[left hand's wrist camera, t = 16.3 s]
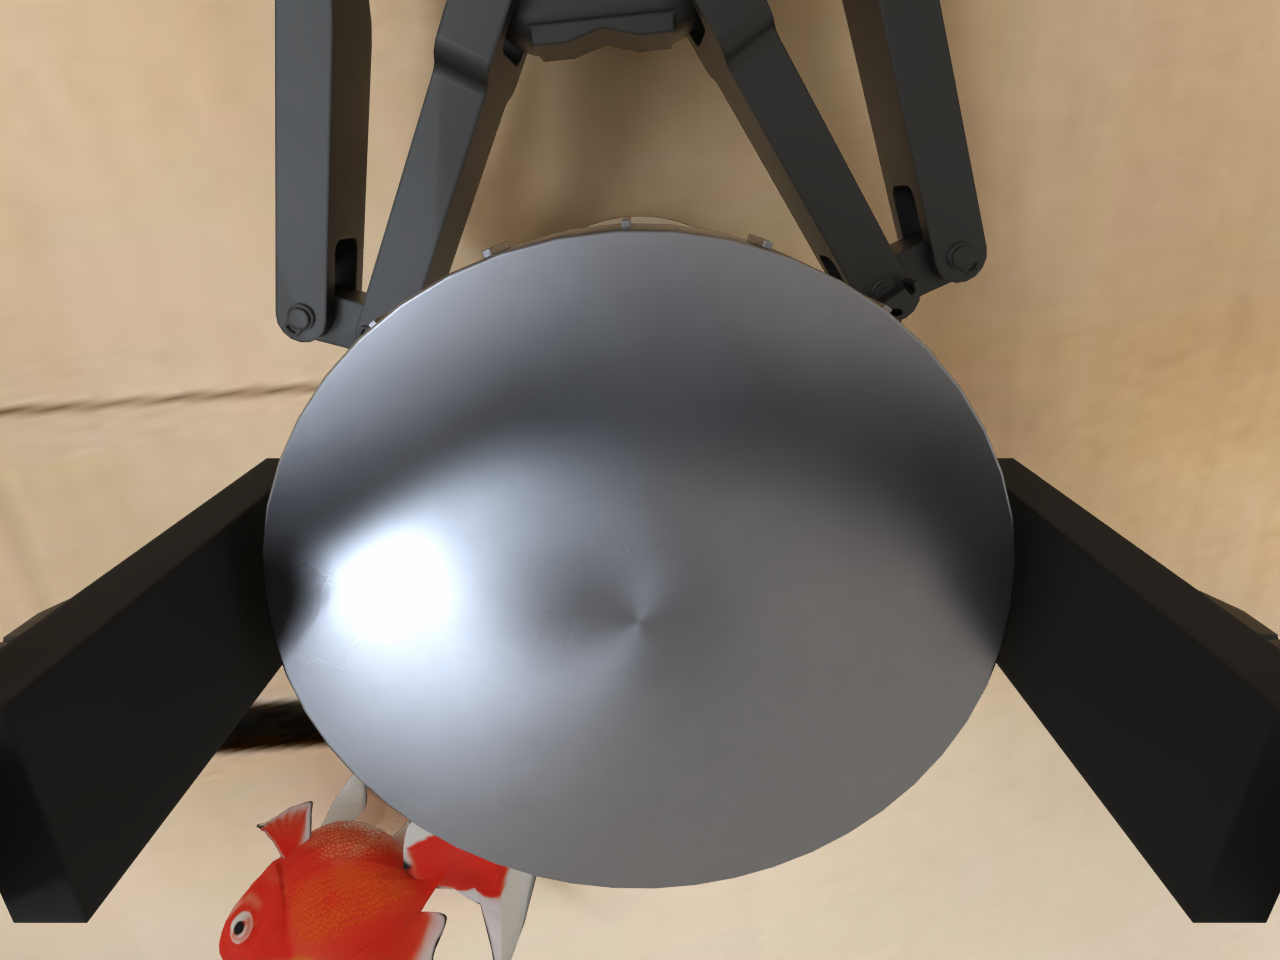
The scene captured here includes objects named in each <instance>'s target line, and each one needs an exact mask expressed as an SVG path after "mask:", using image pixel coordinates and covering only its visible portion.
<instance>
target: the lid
mask: <svg viewBox="0 0 1280 960" xmlns="http://www.w3.org/2000/svg"><path fill="white" fill-rule="evenodd" d="M772 244H773V243H772V242H770V241H767V240H765V239H762V238H760V237H757V236H754V235H751V234H749V236H748V239H747V240H744V239H741V238H738V237H734V236H731V235H728V234H724V233H721V232H718V231H711V230H705V229H699V228H692V227H686V226H680V225H673V224H645V223H632V217H624V218H623V220H622V223H617V224H609V225H601V226H592V227H584V228H576V229H570V230H566V231H562V232H559V233H555V234H551V235H547V236H544V237H540V238H536V239H532V240H529V241H525V242H522V243H520V244H518V245H515V246H513V247H511V248H510V245H509V242H508V241H507V242H504V243H502V244H499V245H496V246H494V247H491V248H488V249H486V250H484V251H482V254H483V256H484V258H485V259H482V260H480V261H478V262H475V263H473V264H471V265H468V266H466V267H464V268H461V269H459V270H457V271H455V272H452V273H450V274H448V275H446V276H444V277H443V278H441V279H439V280H438V281H436V282H435V283H433V284H431V285H430V286H428V287H426V288H425V289H423V290H421V291H420V292H418V293H416V294H415V295H413V296H412V297H410V298H408V299H407V300H405V301H403V302H402V303H400V304H399V305H398V306H397V307H395V308H394V309H393V310H392V311H391V312H389V313H387V314H385V315H383V316H381V317H379V318H377V319H375V320H373V321H372V322H371V323H370V324H369V327H370V329H369V330H368V331H366V332H365V333H364V334H363V335H362V336H360V337H359V338H358V340H357V341H356V342H355V343H354V344H353V345H352V346H351V347H350V349H349V350H348V351H347V352H346V353H345V354H344V355H343V356H342V358H341V359H340V360H339V361H338V362H337V363H336V364H335V365H334V367H333V368H332V369H331V370H330V371H329V372H328V373H327V374H326V376H325V377H324V378H323V380H322V382H321V383H320V385H319V386H318V388H317V389H316V391H315V392H314V394H313V395H312V397H311V399H310V400H309V402H308V403H307V405H306V406H305V408H304V409H303V411H302V413H301V414H300V416H299V417H298V419H297V421H296V424H295V426H294V428H293V431H292V433H291V435H290V437H289V440H288V442H287V444H286V446H285V449H284V451H283V453H282V455H281V458H280V460H279V463H278V466H277V470H276V474H275V478H274V481H273V485H272V489H271V493H270V496H269V500H268V504H267V510H266V520H265V530H264V539H263V549H262V558H263V578H264V596H265V601H266V606H267V611H268V616H269V621H270V626H271V631H272V636H273V639H274V642H275V645H276V647H277V650H278V653H279V656H280V659H281V662H282V664H283V667H284V670H285V673H286V676H287V678H288V680H289V682H290V684H291V686H292V687H293V689H294V691H295V693H296V695H297V697H298V699H299V701H300V703H301V705H302V707H303V709H304V711H305V713H306V714H307V716H308V717H309V718H310V720H311V721H312V723H313V724H314V726H315V727H316V729H317V730H318V731H319V733H320V734H321V736H322V737H323V739H324V740H325V741H326V743H327V744H328V746H329V747H330V748H331V749H332V750H333V752H334V753H335V754H336V755H337V756H338V757H339V758H340V759H341V760H342V762H343V763H344V764H345V765H346V766H347V767H348V768H349V769H350V771H351V772H352V773H353V774H354V775H355V776H356V777H357V778H358V779H359V780H360V781H361V782H362V783H364V784H365V785H366V786H367V787H368V788H369V789H370V790H372V791H373V792H374V793H375V794H376V795H377V796H378V797H380V798H381V799H382V800H383V801H384V802H385V803H386V804H388V805H389V806H390V807H392V808H393V809H395V810H396V811H398V812H399V813H400V814H402V815H403V816H405V817H406V818H408V819H409V820H410V821H412V822H413V823H415V824H416V825H418V826H419V827H420V828H422V829H424V830H426V831H428V832H429V833H431V834H433V835H435V836H437V837H439V838H440V839H442V840H444V841H446V842H448V843H449V844H451V845H453V846H455V847H457V848H459V849H462V850H464V851H466V852H469V853H471V854H473V855H476V856H478V857H481V858H483V859H485V860H488V861H490V862H492V863H495V864H498V865H501V866H505V867H508V868H511V869H514V870H518V871H521V872H524V873H527V874H531V875H534V876H539V877H544V878H549V879H554V880H559V881H563V882H568V883H573V884H583V885H592V886H601V887H611V888H664V887H676V886H688V885H697V884H703V883H708V882H714V881H720V880H725V879H731V878H736V877H739V876H743V875H746V874H750V873H754V872H757V871H761V870H764V869H768V868H771V867H775V866H777V865H780V864H782V863H785V862H787V861H790V860H792V859H795V858H798V857H800V856H803V855H805V854H808V853H810V852H813V851H815V850H817V849H819V848H820V847H822V846H824V845H826V844H828V843H830V842H832V841H834V840H836V839H838V838H840V837H842V836H844V835H846V834H848V833H849V832H851V831H852V830H854V829H855V828H857V827H858V826H860V825H861V824H863V823H864V822H866V821H868V820H869V819H871V818H872V817H874V816H875V815H877V814H878V813H880V812H881V811H883V810H884V809H885V808H886V807H887V806H889V805H890V804H891V803H892V802H893V801H895V800H896V799H897V798H898V797H900V796H901V795H902V794H903V793H904V792H906V791H907V790H908V789H909V788H910V787H912V786H913V785H914V784H915V783H916V782H917V781H918V780H919V779H920V778H921V777H922V776H923V774H924V773H925V772H926V771H927V770H928V769H929V768H930V767H931V766H932V765H933V764H934V763H935V762H936V761H937V760H938V759H939V758H940V757H941V756H942V754H943V753H944V752H945V750H946V749H947V748H948V746H949V745H950V744H951V742H952V741H953V740H954V738H955V737H956V736H957V734H958V733H959V732H960V730H961V729H962V727H963V726H964V725H965V723H966V722H967V720H968V719H969V717H970V715H971V713H972V711H973V710H974V708H975V706H976V704H977V703H978V701H979V699H980V697H981V695H982V694H983V692H984V690H985V688H986V686H987V684H988V682H989V679H990V677H991V674H992V671H993V669H994V666H995V664H996V661H997V659H998V656H999V654H1000V651H1001V649H1002V646H1003V641H1004V637H1005V633H1006V629H1007V624H1008V620H1009V616H1010V612H1011V607H1012V599H1013V587H1014V576H1015V564H1016V560H1015V546H1014V531H1013V517H1012V512H1011V508H1010V504H1009V499H1008V495H1007V490H1006V486H1005V482H1004V477H1003V473H1002V470H1001V468H1000V465H999V463H998V460H997V457H996V455H995V452H994V450H993V447H992V445H991V442H990V440H989V437H988V435H987V432H986V430H985V428H984V426H983V424H982V423H981V421H980V419H979V418H978V416H977V414H976V413H975V411H974V409H973V407H972V406H971V404H970V402H969V401H968V399H967V397H966V396H965V394H964V392H963V391H962V389H961V387H960V386H959V384H958V383H957V382H956V381H955V380H954V378H953V377H952V376H951V375H950V374H949V372H948V371H947V370H946V369H945V368H944V366H943V365H942V364H941V363H940V361H939V360H938V359H937V358H936V357H935V355H934V354H933V353H932V352H931V351H930V349H929V348H928V347H927V346H926V345H925V344H924V343H923V342H922V341H920V340H919V339H918V338H917V337H916V336H915V335H914V334H913V333H911V332H910V331H909V330H908V329H907V328H906V327H905V326H904V325H903V324H901V323H900V322H899V321H898V320H897V319H896V318H895V317H894V316H892V315H891V314H890V312H891V311H892V309H891V308H890V307H888V306H887V305H885V304H883V303H881V302H879V301H877V300H875V299H872V298H870V297H868V296H866V295H864V294H861V293H859V292H858V291H856V290H855V289H853V288H852V287H850V286H849V285H847V284H846V283H844V282H843V281H841V280H839V279H837V278H834V277H832V276H830V275H828V274H826V273H824V272H822V271H819V270H817V269H815V268H813V267H811V266H809V265H807V264H804V263H802V262H800V261H798V260H796V259H794V258H792V257H789V256H787V255H785V254H783V253H780V252H778V251H776V250H773V249H771V247H772Z"/></svg>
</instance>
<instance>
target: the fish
mask: <svg viewBox="0 0 1280 960" xmlns="http://www.w3.org/2000/svg"><path fill="white" fill-rule="evenodd" d="M366 804H367V788H366V785H365V784H364V783H362V782H361V781H360V780H359V779H358V778H357V777H356V776H355V775H354V774H353V775H352V776H351V777H350V779H349V780H348V781H347V783H346V785H345V786H344V788H343V789H342V790H341V792H340V793H339V794H338V796H337V797H336V799H335V800H334V802H333V803H332V805H331V807H330V809H329V811H328V814H327V816H326V818H325V820H324V822H323V824H322V825H321V827H319V828H317V829H315V830H314V831H312V832H311V823H312V817H311V814H312V806H313V802H312V801H309V802H305V803H302V804H299V805H297V806H294V807H291V808H288V809H287V810H285V811H284V812H282V813H281V814H279V815H278V816H276V817H275V818H273V819H271V820H269V821H268V822H266V823H262V824H258V825H257V827H258V828H260V829H261V830H262V831H265V833H266V834H267V836H268V837H269V838H270V839H271V840H272V841H273V842H274V844H275V846H276V848H277V849H278V851H279V853H280V855H281V857H280V858H279V859H277V860H275V861H273V862H272V863H271V864H270V865H269V866H268V867H267V869H266V870H265V871H264V872H263V873H262V875H261V876H260V877H259V878H258V879H257V880H256V881H255V882H254V883H253V884H252V885H251V886H250V888H249V889H248V890H247V892H246V893H245V894H244V895H243V896H242V898H241V899H240V900H239V901H238V902H237V904H236V905H235V906H234V907H233V909H232V911H231V913H230V915H229V917H228V918H227V920H226V922H225V925H224V928H223V930H222V934H221V938H220V943H219V951H220V955H221V957H222V959H223V960H433V956H434V952H435V949H436V946H437V944H438V942H439V940H440V937H441V935H442V933H443V930H444V927H445V924H446V920H447V916H446V915H444V914H442V913H438V912H421V911H422V909H423V907H424V906H425V904H426V902H427V901H428V899H429V898H430V896H431V895H432V893H433V892H434V890H435V888H442V889H455V890H457V891H458V892H460V893H461V894H462V895H464V896H465V897H467V898H469V899H471V900H473V901H474V902H476V903H478V904H480V905H481V909H482V913H483V917H484V921H485V925H486V929H487V933H488V937H489V941H490V945H491V949H492V955H493V960H511V958H512V956H513V953H514V950H515V947H516V945H517V942H518V939H519V936H520V934H521V931H522V928H523V926H524V923H525V919H526V915H527V911H528V907H529V903H530V899H531V895H532V891H533V887H534V884H535V880H536V876H534V875H531V874H527V873H524V872H521V871H518V870H514V869H511V868H508V867H505V866H501V865H498V864H495V863H492V862H490V861H488V860H485V859H483V858H481V857H478V856H476V855H473V854H471V853H469V852H466V851H464V850H462V849H459V848H457V847H455V846H453V845H451V844H449V843H448V842H446V841H444V840H442V839H440V838H439V837H437V836H435V835H433V834H431V833H429V832H428V831H426V830H424V829H422V828H420V827H419V826H418V825H416V824H415V823H413V822H412V821H410V820H409V819H408V821H407V822H406V824H405V825H404V826H403V827H402V828H401V829H400V830H399V831H398V832H397V833H396V834H395V835H393V836H392V837H391V836H390V835H389V834H388V833H386V832H385V831H383V830H382V829H380V828H378V827H375V826H373V825H370V824H366V823H361V822H356V821H354V820H355V819H356V818H357V817H358V816H359V815H360V814H361V813H362V812H363V810H364V809H365V807H366Z"/></svg>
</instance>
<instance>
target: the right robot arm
mask: <svg viewBox="0 0 1280 960" xmlns="http://www.w3.org/2000/svg"><path fill="white" fill-rule="evenodd" d="M842 1H843V6H844V10H845V14H846V18H847V23H848V27H849V31H850V36H851V40H852V44H853V48H854V53H855V57H856V61H857V66H858V70H859V74H860V79H861V83H862V87H863V91H864V96H865V100H866V104H867V109H868V113H869V117H870V122H871V126H872V130H873V134H874V139H875V143H876V147H877V152H878V156H879V160H880V165H881V169H882V173H883V177H884V182H885V186H886V190H887V195H888V199H889V203H890V207H891V212H892V216H893V220H894V225H895V229H896V233H897V238H898V241H897V242H895V243H892V244H890V245H889V243H888V241H887V239H886V238H885V236H884V234H883V232H882V230H881V228H880V226H879V224H878V222H877V221H876V219H875V217H874V215H873V213H872V211H871V209H870V207H869V205H868V204H867V202H866V200H865V198H864V196H863V194H862V192H861V190H860V189H859V187H858V185H857V183H856V181H855V179H854V177H853V175H852V173H851V172H850V170H849V168H848V166H847V164H846V162H845V160H844V158H843V156H842V155H841V153H840V151H839V149H838V147H837V145H836V143H835V141H834V139H833V138H832V136H831V134H830V132H829V130H828V128H827V126H826V124H825V123H824V121H823V119H822V117H821V115H820V113H819V111H818V109H817V107H816V106H815V104H814V102H813V100H812V98H811V96H810V94H809V92H808V90H807V89H806V87H805V85H804V83H803V81H802V79H801V77H800V75H799V74H798V72H797V70H796V68H795V66H794V64H793V62H792V60H791V58H790V57H789V55H788V53H787V51H786V49H785V47H784V45H783V43H782V41H781V40H780V38H779V36H778V33H777V31H776V28H775V24H774V19H773V15H772V12H771V9H770V7H769V5H768V2H767V0H447V1H446V5H445V8H444V12H443V15H442V18H441V22H440V25H439V28H438V32H437V36H436V40H435V46H434V69H433V73H432V77H431V80H430V83H429V87H428V90H427V93H426V97H425V100H424V103H423V107H422V110H421V113H420V117H419V120H418V123H417V127H416V130H415V133H414V137H413V140H412V143H411V147H410V150H409V153H408V157H407V160H406V163H405V167H404V170H403V173H402V177H401V180H400V183H399V187H398V190H397V193H396V197H395V200H394V203H393V207H392V210H391V213H390V217H389V220H388V223H387V227H386V230H385V233H384V237H383V240H382V243H381V247H380V250H379V253H378V256H377V260H376V263H375V266H374V270H373V273H372V276H371V280H370V283H369V286H368V290H367V293H366V292H363V291H362V273H363V248H364V223H365V198H366V173H367V149H368V124H369V99H370V74H371V49H372V30H371V15H370V6H369V0H275V196H276V317H277V322H278V324H279V326H280V328H281V329H282V331H283V332H284V333H285V334H286V335H287V336H289V337H290V338H291V339H294V340H296V341H299V342H311V341H313V340H318V341H322V342H325V343H329V344H333V345H337V346H341V347H345V348H347V349H350V347H351V346H352V345H353V344H354V343H355V342H356V341H357V340H358V338H359V337H360V336H362V335H363V334H364V333H365V332H366V331H368V330H369V329H370V327H369V324H370V323H371V322H372V321H373V320H375V319H377V318H379V317H381V316H383V315H385V314H387V313H389V312H391V311H392V310H393V309H394V308H395V307H397V306H398V305H399V304H400V303H402V302H403V301H405V300H407V299H408V298H410V297H412V296H413V295H415V294H416V293H418V292H420V291H421V290H423V289H425V288H426V287H428V286H430V285H431V284H433V283H435V282H436V281H438V280H439V279H441V278H443V277H444V276H446V275H448V274H449V271H450V268H451V265H452V263H453V260H454V257H455V254H456V251H457V248H458V245H459V242H460V239H461V236H462V233H463V230H464V227H465V224H466V221H467V218H468V215H469V212H470V209H471V206H472V203H473V200H474V197H475V194H476V191H477V189H478V186H479V183H480V180H481V177H482V174H483V171H484V168H485V165H486V162H487V159H488V156H489V153H490V150H491V147H492V144H493V141H494V138H495V135H496V132H497V129H498V126H499V123H500V120H501V117H502V115H503V112H504V109H505V106H506V104H507V102H508V101H509V99H510V98H511V96H512V94H513V92H514V90H515V88H516V85H517V82H518V79H519V76H520V74H521V71H522V68H523V65H524V62H525V59H526V56H527V53H529V54H532V55H536V56H540V57H541V59H542V60H543V61H544V62H545V61H555V60H565V59H575V58H577V57H579V56H582V55H584V54H587V53H589V52H591V51H594V50H596V49H598V48H601V47H603V46H613V47H618V48H623V49H628V50H633V51H638V52H642V51H652V50H662V49H671V47H672V43H673V42H676V41H678V40H680V39H682V38H683V37H685V36H687V37H688V39H689V41H690V43H691V44H692V46H693V48H694V50H695V51H696V53H697V55H698V57H699V58H700V60H701V62H702V64H703V65H704V67H705V68H706V70H707V72H708V73H709V74H710V76H711V77H712V78H713V79H714V80H715V81H716V83H717V84H718V86H719V87H720V89H721V91H722V92H723V94H724V96H725V98H726V99H727V101H728V103H729V105H730V107H731V108H732V110H733V112H734V114H735V115H736V117H737V119H738V121H739V122H740V124H741V126H742V128H743V129H744V131H745V133H746V135H747V136H748V138H749V140H750V142H751V143H752V145H753V147H754V149H755V150H756V152H757V154H758V156H759V157H760V159H761V161H762V163H763V164H764V166H765V168H766V170H767V172H768V173H769V175H770V177H771V179H772V180H773V182H774V184H775V186H776V187H777V189H778V191H779V193H780V194H781V196H782V198H783V200H784V201H785V203H786V205H787V207H788V208H789V210H790V212H791V214H792V215H793V217H794V219H795V221H796V222H797V224H798V226H799V228H800V229H801V231H802V233H803V235H804V237H805V238H806V240H807V242H808V244H809V245H810V247H811V249H812V251H813V252H814V254H815V256H816V258H817V259H818V261H819V263H820V265H821V266H822V268H823V270H824V272H825V273H826V274H828V275H830V276H832V277H834V278H837V279H839V280H841V281H843V282H844V283H846V284H847V285H849V286H850V287H852V288H853V289H855V290H856V291H858V292H859V293H861V294H864V295H866V296H868V297H870V298H872V299H875V300H877V301H879V302H881V303H883V304H885V305H887V306H888V307H890V308H891V309H892V311H891V312H890V314H891V315H892V316H894V317H895V318H896V319H897V320H898V321H899V322H900V323H901V320H902V319H904V318H906V317H908V316H909V315H910V314H911V313H912V312H913V311H914V310H915V308H916V306H917V304H918V302H919V298H920V296H921V295H923V294H925V293H928V292H930V291H932V290H934V289H937V288H939V287H941V286H943V285H945V284H948V283H950V282H955V283H958V282H964V281H967V280H969V279H971V278H973V277H974V276H976V275H977V273H978V272H979V271H980V270H981V269H982V268H983V265H984V263H985V260H986V251H987V247H986V242H985V237H984V231H983V226H982V221H981V216H980V210H979V205H978V200H977V195H976V189H975V184H974V179H973V174H972V168H971V163H970V158H969V153H968V148H967V142H966V137H965V132H964V127H963V121H962V116H961V111H960V106H959V100H958V95H957V90H956V85H955V79H954V74H953V69H952V64H951V58H950V53H949V48H948V43H947V37H946V32H945V27H944V22H943V16H942V11H941V6H940V1H939V0H842Z"/></svg>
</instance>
